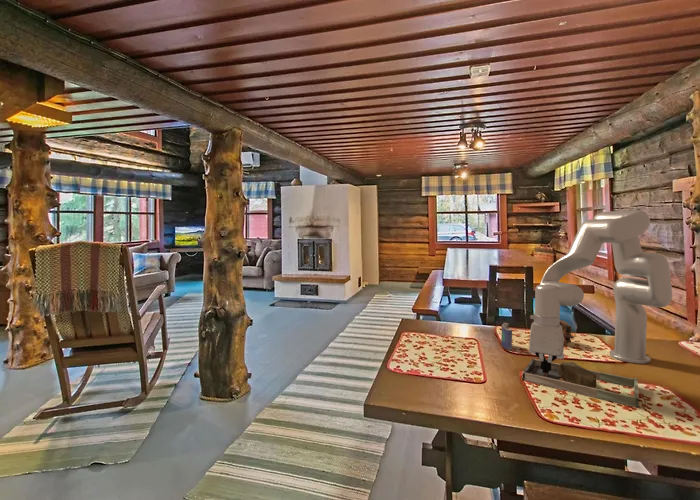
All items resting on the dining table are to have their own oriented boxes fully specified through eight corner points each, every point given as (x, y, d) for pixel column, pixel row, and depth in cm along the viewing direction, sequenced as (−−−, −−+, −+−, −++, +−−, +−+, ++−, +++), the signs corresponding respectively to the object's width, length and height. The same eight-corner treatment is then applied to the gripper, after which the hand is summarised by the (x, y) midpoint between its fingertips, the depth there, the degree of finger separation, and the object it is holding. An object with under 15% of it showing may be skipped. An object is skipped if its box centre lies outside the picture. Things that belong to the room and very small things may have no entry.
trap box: (532, 364, 131) (532, 357, 131) (637, 387, 112) (637, 378, 112) (522, 379, 118) (522, 371, 118) (638, 407, 99) (638, 397, 99)
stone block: (571, 374, 121) (572, 360, 121) (598, 390, 110) (599, 375, 110) (556, 374, 121) (557, 361, 120) (581, 391, 110) (582, 376, 109)
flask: (512, 350, 146) (513, 325, 145) (505, 350, 147) (505, 325, 146) (506, 343, 155) (506, 320, 155) (499, 343, 156) (499, 320, 155)
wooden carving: (540, 337, 164) (540, 316, 163) (549, 336, 164) (549, 315, 164) (568, 349, 147) (569, 326, 147) (577, 348, 148) (578, 325, 148)
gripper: (520, 319, 122) (520, 370, 123) (570, 326, 112) (569, 381, 113) (525, 315, 127) (524, 363, 129) (573, 321, 118) (572, 373, 119)
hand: (545, 371), depth 121 cm, fingers closed
